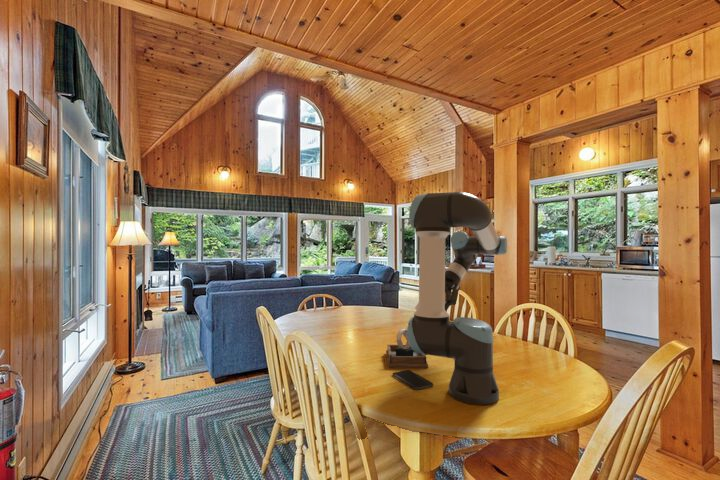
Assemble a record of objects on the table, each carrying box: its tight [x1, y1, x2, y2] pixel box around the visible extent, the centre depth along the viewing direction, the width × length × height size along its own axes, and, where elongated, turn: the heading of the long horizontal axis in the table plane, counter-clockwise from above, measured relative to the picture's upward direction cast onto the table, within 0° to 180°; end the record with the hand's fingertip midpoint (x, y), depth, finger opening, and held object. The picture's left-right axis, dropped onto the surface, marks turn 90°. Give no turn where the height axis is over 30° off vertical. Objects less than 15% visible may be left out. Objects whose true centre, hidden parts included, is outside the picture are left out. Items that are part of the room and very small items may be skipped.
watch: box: [395, 328, 413, 356], centre depth 146 cm, size 6×8×11 cm
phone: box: [392, 369, 434, 391], centre depth 125 cm, size 8×1×15 cm
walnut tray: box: [385, 344, 429, 369], centre depth 146 cm, size 17×15×4 cm
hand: (426, 313), depth 151 cm, fingers open, 13 cm apart
